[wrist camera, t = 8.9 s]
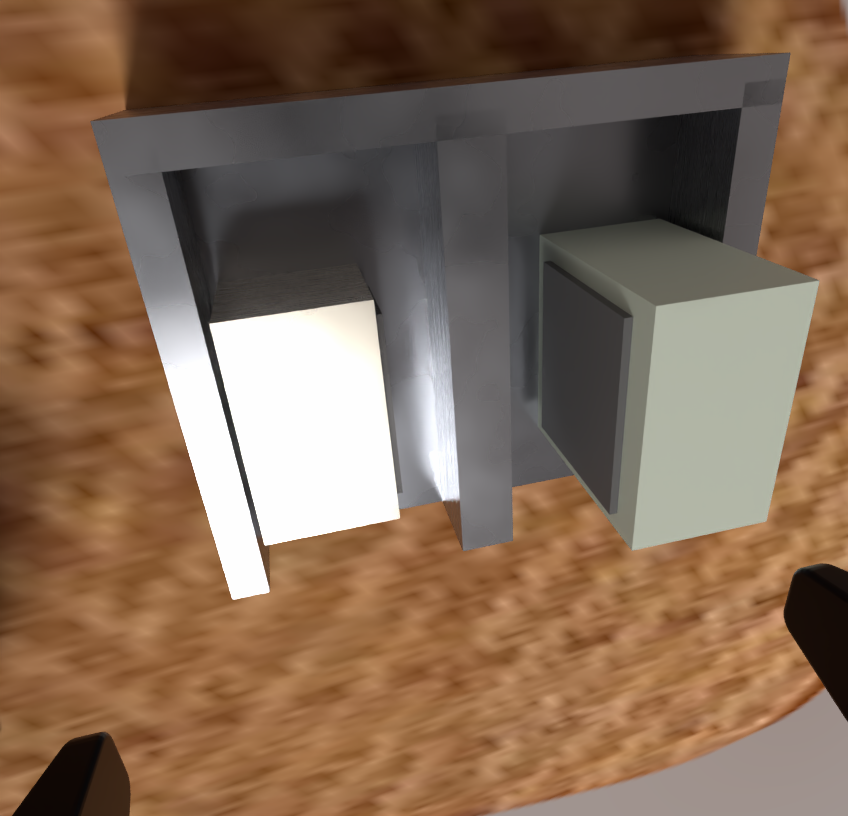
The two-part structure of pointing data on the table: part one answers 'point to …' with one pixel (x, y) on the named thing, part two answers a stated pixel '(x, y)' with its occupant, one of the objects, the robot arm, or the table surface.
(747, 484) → the pale sage upright block
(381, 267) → the gray compartment tray
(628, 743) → the table surface
